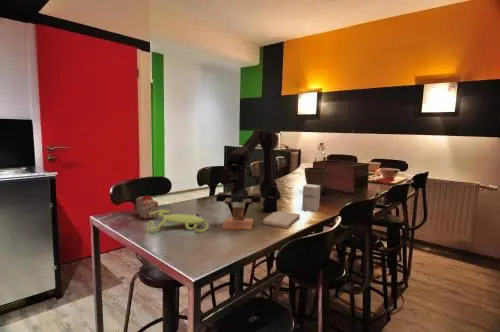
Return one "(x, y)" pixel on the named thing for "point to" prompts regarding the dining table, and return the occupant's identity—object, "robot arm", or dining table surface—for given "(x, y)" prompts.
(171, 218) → the figurine
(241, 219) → the walnut cube
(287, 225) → the washcloth
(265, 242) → the dining table surface
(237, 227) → the terracotta tile
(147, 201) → the food item
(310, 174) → the plant pot
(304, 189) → the supplement box
